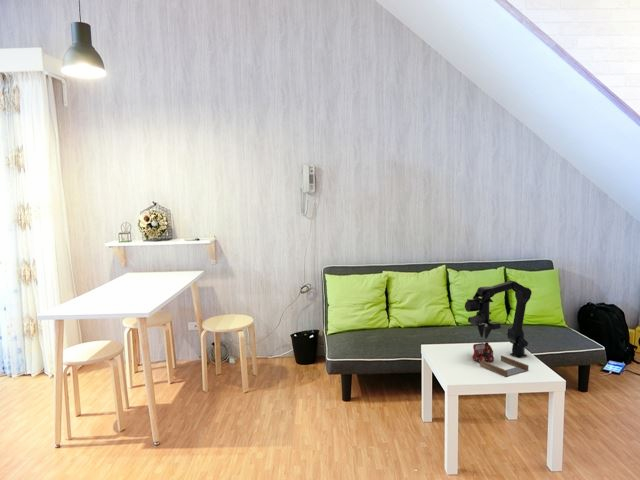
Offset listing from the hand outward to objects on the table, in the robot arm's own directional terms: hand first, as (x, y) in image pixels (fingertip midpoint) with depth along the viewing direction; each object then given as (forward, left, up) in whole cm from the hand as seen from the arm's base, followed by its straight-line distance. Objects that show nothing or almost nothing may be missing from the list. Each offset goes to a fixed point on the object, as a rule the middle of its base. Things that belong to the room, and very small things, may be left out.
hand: (483, 337), depth 248 cm
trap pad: (0, +19, -13) cm, 23 cm away
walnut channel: (0, +14, -13) cm, 19 cm away
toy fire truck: (+1, 0, -13) cm, 13 cm away
